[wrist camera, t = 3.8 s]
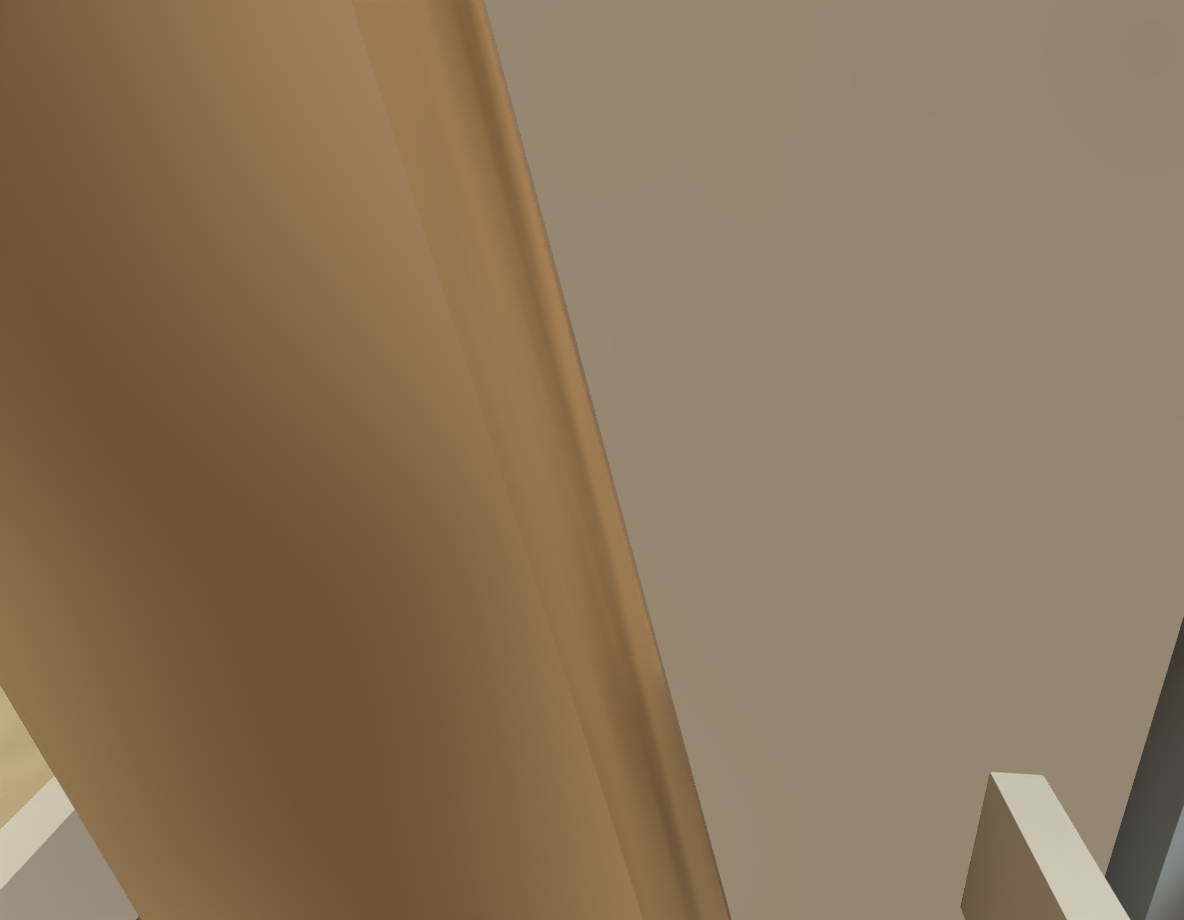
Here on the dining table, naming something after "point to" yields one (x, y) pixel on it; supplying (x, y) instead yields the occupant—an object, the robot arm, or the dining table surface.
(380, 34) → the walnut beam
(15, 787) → the dining table surface
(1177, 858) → the fulcrum
